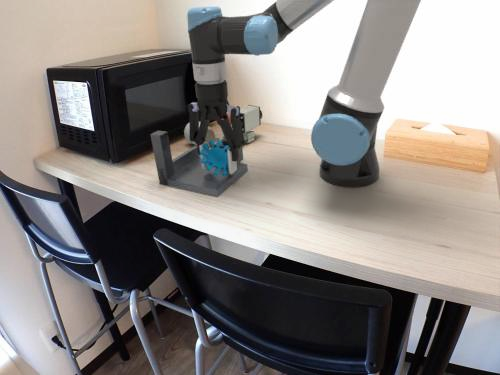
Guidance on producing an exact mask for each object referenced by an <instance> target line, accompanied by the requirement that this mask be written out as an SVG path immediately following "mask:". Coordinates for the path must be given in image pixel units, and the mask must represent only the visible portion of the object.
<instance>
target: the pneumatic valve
mask: <svg viewBox="0 0 500 375" xmlns="http://www.w3.org/2000/svg"><path fill="white" fill-rule="evenodd" d="M262 118H263V111H262V110H261V107H260V106H259V105H258V106H256V105H252V104H248V105H244V106H243V107H240V120H241V125H242V130H243V135H244V140H245V144H249V145H250V143H252V142H254V141H255V135H256V133H255V130H254V129H256V128H257V127H259V126H261V122H262V121H261V120H262Z"/></svg>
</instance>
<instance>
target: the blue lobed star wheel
mask: <svg viewBox="0 0 500 375" xmlns="http://www.w3.org/2000/svg"><path fill="white" fill-rule="evenodd" d="M216 143H217V147H214V144H216ZM216 143H215V141H214V140H210V141H209V144H210V146H209V147H210V148H209V147H208V143H205V144H203V148H204V149H206V151H207V153H208V154H207V153H206V152H205V150H204V149H202V150H201V151H200V155H204V156H205V157H207V158H208V160H207V159H206V158H204V157H203V158H202V159H201V163H209V164H208V165H207V166H206V169H207V170H208V171H210V170H211V169H212V168H213V167H216V168H217V170H215V171H214V172H213V173H214V174H215V175H218V174H219V170H220V168H222V169H223V172H222V175H223V176H226V175H227V174H228V173H227V171H226V166H227V167H228V172H229V164H228V153H227V152H225V151H227V150H228V149H229V146H228V145H226V146H225V147H224V148H222V149H221V148H220V147H219V146H221V145H222V144H223V143H222V142H221V141H220V140H219V141H218V142H216ZM224 150H225V151H224Z"/></svg>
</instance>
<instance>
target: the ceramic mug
mask: <svg viewBox="0 0 500 375" xmlns="http://www.w3.org/2000/svg"><path fill="white" fill-rule="evenodd" d="M200 122H201V121H199V126H200ZM183 132H184V138H185V140H186V141H187V142H188V143H190V144H192V145H193V146H197V144H196V143H195V142H194V141H193V142H191V141H190V121H189V122H188V123H187V124H186V125H185V127H184V130H183ZM205 140H206V141H204V142H208V148H209V147H210V144H209V141H210V140H214V141H215V142H216V143H217V142H218V141H220V140H221V138H220V136H218V135H217V134H215V131H214V130H213V128H211V127H210V125H209V126H208V130H207V134H206V137H205Z"/></svg>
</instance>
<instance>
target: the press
mask: <svg viewBox="0 0 500 375" xmlns="http://www.w3.org/2000/svg"><path fill="white" fill-rule="evenodd" d="M150 139H151V140H150V141H151V145H152V151H153V156H154V162H155V165H156V172H157V176H158V183H159V185H162V186H166V187H170V188H176V189H179V190H184V191H189V192H192V193H198V194H202V195H206V196H209V197H210V196H211V197H215V198H218V197H219V196H221V195H222V194H223V193H224V192H226V190H227V189H228V188H230V187H231V186H232V185H233V184H234V183H235V182H237V181H238V180H239V179H240V178H241V177H243V176H244V175H245V174H246V173H248V171H249V170H248V169H249V168H248V163H244V162H243V163H241V162H242V161H243V160H244V148H243V146H242V147H241V148H240V149H238V154H239V159H238V160H237V161H236V162H237V170H236V171H235V172H234V173H233V174H229V172H228V167H227V166H226V171H227V173H228V174H227V175H226V176H223V175H222V172H223V169H222V168H220V170H219V174H218V175H215V174H214V173H213V172H214V171H215V170H217V168H216V167H213V168H212V169H211V170H210V171H208V170H207V169H206V168H205V169H202V163H201V156H200V155H199V154H198V148H197V146H196V145H193V146H192V147H191V148H190V149H188V150H186V151H184V152H183V153H181V154H180V155H177V156H176V157H174V158H173V157H172V150H171V144H170V139H169V133H168V131H165V130H163V131H162V130H157V131H153V132H152V133H150ZM219 141H221V142H222V143H223V141H222V139H219ZM213 146H214V147H217V142H216V143H214V144H213ZM225 146H226V145H223V144H222V145H221V146H219V147H220V148H221V149H222V148H224V147H225ZM229 148H230V147H229ZM224 151H225V150H224ZM225 152H227V151H225Z"/></svg>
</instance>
